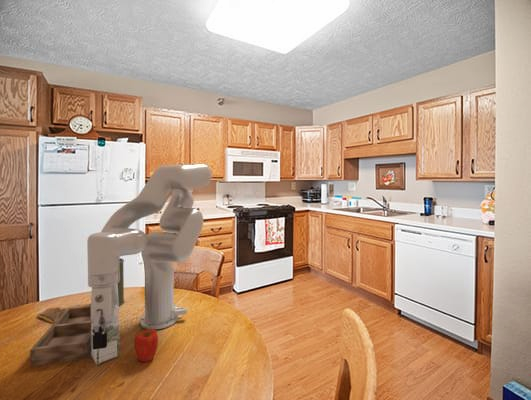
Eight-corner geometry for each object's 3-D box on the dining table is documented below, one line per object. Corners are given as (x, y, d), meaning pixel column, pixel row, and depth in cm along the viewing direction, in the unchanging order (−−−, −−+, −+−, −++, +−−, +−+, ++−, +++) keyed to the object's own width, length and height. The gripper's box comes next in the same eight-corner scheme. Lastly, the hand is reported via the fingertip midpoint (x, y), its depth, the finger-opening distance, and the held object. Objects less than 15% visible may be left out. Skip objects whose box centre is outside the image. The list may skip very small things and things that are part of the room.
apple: (140, 351, 79) (140, 326, 78) (161, 351, 79) (161, 326, 78) (129, 365, 73) (129, 338, 72) (152, 366, 72) (152, 339, 72)
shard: (54, 325, 93) (54, 320, 93) (27, 328, 91) (27, 322, 91) (67, 310, 103) (67, 306, 103) (43, 313, 101) (43, 308, 101)
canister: (130, 300, 112) (129, 252, 111) (110, 311, 102) (109, 259, 101) (108, 297, 115) (107, 250, 113) (86, 308, 104) (85, 257, 103)
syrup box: (113, 347, 80) (112, 299, 79) (119, 356, 76) (119, 306, 75) (90, 355, 76) (90, 305, 75) (96, 366, 72) (95, 312, 71)
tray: (109, 315, 99) (109, 303, 99) (87, 358, 75) (87, 342, 75) (68, 320, 95) (67, 307, 95) (30, 366, 71) (30, 350, 71)
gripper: (112, 287, 68) (112, 354, 69) (125, 267, 84) (125, 321, 85) (76, 290, 65) (78, 359, 66) (97, 269, 82) (98, 324, 83)
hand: (104, 337), depth 76 cm, fingers open, 9 cm apart
